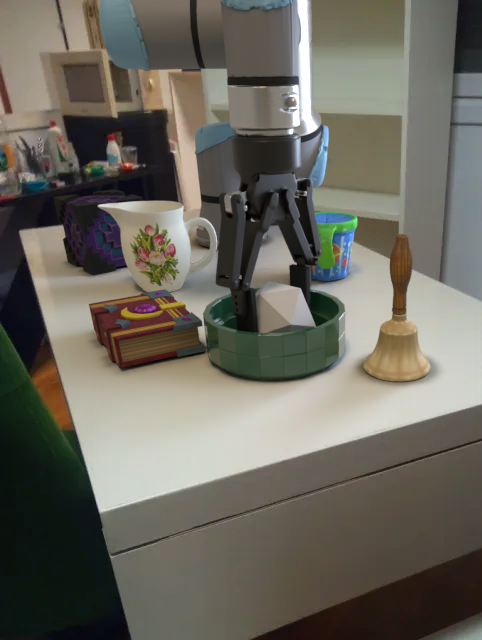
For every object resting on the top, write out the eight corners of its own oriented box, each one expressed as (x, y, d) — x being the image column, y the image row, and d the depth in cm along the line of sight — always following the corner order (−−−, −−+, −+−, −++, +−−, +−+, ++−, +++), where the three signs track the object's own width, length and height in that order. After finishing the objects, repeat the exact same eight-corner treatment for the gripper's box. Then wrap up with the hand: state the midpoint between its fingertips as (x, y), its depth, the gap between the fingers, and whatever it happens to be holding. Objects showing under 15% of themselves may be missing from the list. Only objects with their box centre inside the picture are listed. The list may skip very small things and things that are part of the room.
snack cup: (304, 263, 113) (302, 207, 108) (359, 264, 112) (360, 208, 107) (290, 289, 100) (288, 226, 95) (352, 290, 99) (353, 228, 93)
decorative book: (119, 372, 72) (111, 334, 70) (90, 330, 85) (83, 296, 82) (206, 353, 77) (202, 316, 75) (168, 315, 89) (163, 283, 87)
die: (328, 350, 77) (309, 278, 78) (307, 341, 69) (286, 260, 69) (269, 369, 80) (252, 298, 80) (242, 362, 71) (222, 283, 72)
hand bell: (383, 387, 69) (390, 247, 60) (351, 360, 75) (354, 230, 67) (443, 374, 71) (458, 239, 63) (408, 349, 78) (417, 223, 70)
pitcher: (224, 292, 99) (216, 205, 92) (112, 301, 95) (94, 212, 88) (218, 273, 108) (210, 193, 101) (115, 281, 104) (99, 199, 97)
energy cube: (125, 251, 122) (114, 189, 116) (153, 262, 114) (142, 197, 108) (67, 262, 115) (53, 197, 109) (92, 275, 108) (78, 206, 101)
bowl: (268, 319, 88) (266, 279, 85) (369, 345, 79) (371, 302, 76) (179, 359, 76) (173, 315, 73) (288, 396, 67) (285, 347, 64)
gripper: (218, 142, 54) (237, 364, 66) (351, 126, 70) (348, 307, 81) (162, 138, 58) (190, 349, 70) (301, 123, 74) (305, 297, 85)
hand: (275, 326), depth 75 cm, fingers closed on die, 10 cm apart
